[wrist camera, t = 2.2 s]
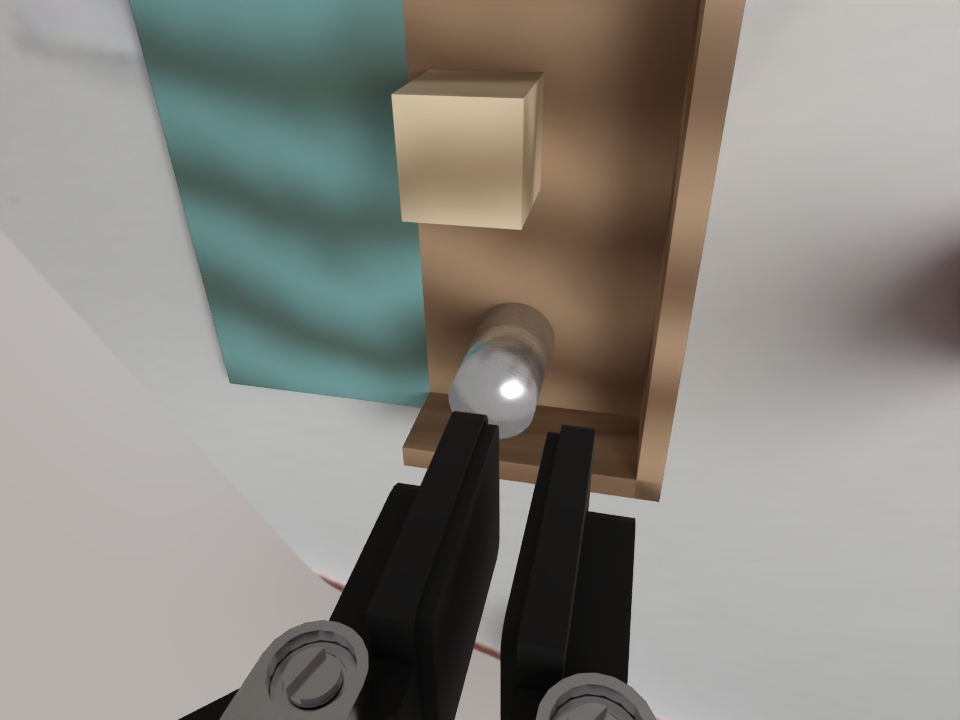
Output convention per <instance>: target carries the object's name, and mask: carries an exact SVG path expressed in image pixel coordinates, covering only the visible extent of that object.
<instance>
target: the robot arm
mask: <svg viewBox="0 0 960 720" xmlns="http://www.w3.org/2000/svg"><path fill="white" fill-rule="evenodd" d="M595 434H596V429H595V428H587V427H579V426H571V425H563V424H562V426H561V431H560V433H555V432H548V433H547V436H546V441H545V445H544V449H543V454H542V458H541V462H540V467H539V471H538V476H537V480H536V484H535V489H534V493H533V497H532V502H531V506H530V510H529V515H528V519H527V523H526V528H525V532H524V536H523V541H522V545H521V549H520V554H519V558H518V562H517V567H516V571H515V575H514V580H513V584H512V588H511V593H510V597H509V601H508V606H507V610H506V615H505V619H504V625H503V631H502V639H501V720H656V718H655V716H654V714H653V713H652V711H651V709H650V707H649V706H648V704H647V702H646V701H645V700H644V699H643V698H642V697H641V696H640V695H639V694H638V693H637V692H636V691H635V690H634V689H633V688H632V687H631V686H629V685H627V681H628V661H629V642H630V622H631V603H632V583H633V564H634V544H635V518H629V517H623V516H616V515H609V514H603V513H596V512H589V511H588V507H589V497H590V486H591V476H592V465H593V455H594V445H595ZM498 549H499V426H498V425H493V424H488V417H487V415H484V414H476V413H468V412H460V411H454V412H452V414H451V416H450V418H449V421H448V423H447V425H446V428H445V430H444V432H443V435H442V437H441V439H440V442H439V444H438V446H437V449H436V451H435V453H434V455H433V458H432V460H431V462H430V465H429V467H428V469H427V472H426V474H425V476H424V479H423V481H422V483H421V486H416V485H409V484H403V483H397V484H396V485H395V486H394V487H393V489H392V491H391V492H390V494H389V496H388V498H387V500H386V502H385V504H384V507H383V509H382V511H381V513H380V515H379V517H378V519H377V521H376V523H375V525H374V527H373V530H372V532H371V534H370V536H369V538H368V540H367V542H366V544H365V546H364V548H363V550H362V553H361V555H360V557H359V559H358V561H357V563H356V565H355V567H354V569H353V571H352V573H351V576H350V578H349V580H348V582H347V584H346V586H345V588H344V590H343V592H342V594H341V596H340V599H339V601H338V603H337V605H336V607H335V609H334V611H333V613H332V615H331V618H330V620H329V621H326V620H320V621H314V622H307V623H303V624H301V625H299V626H296V627H294V628H291V629H289V630H288V631H286V632H285V633H283V634H282V635H281V636H279V637H278V638H276V639H275V640H274V641H273V642H272V643H271V644H270V646H269V647H268V648H267V649H266V650H265V651H264V653H263V654H262V655H261V657H260V658H259V660H258V662H257V663H256V664H255V666H254V667H253V669H252V670H251V672H250V673H249V675H248V677H247V678H246V680H245V681H244V683H243V684H242V686H241V687H240V688H239V689H237V690H235V691H233V692H231V693H230V694H228V695H226V696H224V697H222V698H220V699H218V700H216V701H214V702H212V703H210V704H208V705H206V706H204V707H202V708H200V709H198V710H196V711H194V712H192V713H190V714H188V715H186V716H184V717H183V718H181V719H179V720H454V719H455V715H456V712H457V708H458V704H459V700H460V696H461V693H462V689H463V685H464V681H465V678H466V673H467V670H468V666H469V662H470V659H471V655H472V651H473V647H474V643H475V640H476V636H477V632H478V628H479V624H480V621H481V617H482V613H483V609H484V606H485V602H486V598H487V594H488V590H489V587H490V583H491V579H492V575H493V571H494V568H495V564H496V560H497V555H498Z"/></svg>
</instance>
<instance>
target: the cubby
mask: <svg viewBox="0 0 960 720" xmlns="http://www.w3.org/2000/svg"><path fill="white" fill-rule="evenodd" d="M745 1H746V0H129V2H130V5H131V9H132V13H133V17H134V21H135V24H136V28H137V32H138V36H139V40H140V43H141V47H142V51H143V55H144V59H145V62H146V66H147V70H148V74H149V78H150V81H151V85H152V89H153V93H154V97H155V100H156V104H157V108H158V112H159V116H160V119H161V123H162V127H163V131H164V135H165V138H166V142H167V146H168V150H169V154H170V157H171V161H172V165H173V169H174V173H175V176H176V180H177V184H178V188H179V192H180V195H181V199H182V203H183V207H184V211H185V214H186V218H187V222H188V226H189V230H190V233H191V237H192V241H193V245H194V249H195V252H196V256H197V260H198V264H199V268H200V271H201V275H202V279H203V283H204V287H205V290H206V294H207V298H208V302H209V306H210V309H211V313H212V317H213V321H214V325H215V328H216V332H217V336H218V340H219V344H220V347H221V351H222V355H223V359H224V363H225V366H226V370H227V374H228V378H229V382H230V383H232V384H240V385H248V386H256V387H264V388H272V389H280V390H288V391H296V392H304V393H311V394H319V395H327V396H335V397H343V398H351V399H359V400H367V401H375V402H383V403H391V404H398V405H406V406H414V407H422V409H421V411H420V413H419V415H418V417H417V419H416V421H415V423H414V425H413V427H412V429H411V431H410V433H409V435H408V437H407V439H406V441H405V443H404V445H403V447H402V449H403V459H404V465H407V466H414V467H421V468H428V467H429V465H430V462H431V460H432V458H433V455H434V453H435V451H436V449H437V446H438V444H439V442H440V439H441V437H442V435H443V432H444V430H445V428H446V425H447V423H448V421H449V418H450V416H451V414H452V410H451V408H450V405H449V390H450V387H451V384H452V382H453V380H454V378H455V376H456V374H457V372H458V370H459V368H460V366H461V363H462V361H463V359H464V357H465V355H466V353H467V351H468V349H469V347H470V345H471V343H472V340H473V338H474V336H475V334H476V332H477V330H478V328H479V326H480V324H481V322H482V320H483V318H484V316H485V315H486V314H487V313H488V312H489V311H490V310H491V309H493V308H494V307H496V306H499V305H501V304H506V303H520V304H524V305H528V306H530V307H532V308H534V309H536V310H538V311H539V312H540V313H541V314H543V315H544V316H545V317H546V319H547V320H548V321H549V323H550V325H551V326H552V329H553V332H554V346H553V350H552V354H551V357H550V360H549V364H548V367H547V371H546V374H545V378H544V381H543V385H542V388H541V392H540V395H539V399H538V402H537V406H536V409H535V413H534V416H533V419H532V421H531V423H530V425H529V426H528V427H527V428H526V429H525V430H524V431H523V432H521V433H520V434H518V435H516V436H513V437H509V438H503V439H499V479H504V480H511V481H518V482H525V483H532V484H536V480H537V476H538V471H539V467H540V462H541V458H542V454H543V449H544V445H545V441H546V436H547V433H548V432H555V433H560V431H561V426H562V424H563V425H571V426H579V427H587V428H595V429H596V434H595V445H594V455H593V465H592V476H591V486H590V492H594V493H601V494H608V495H615V496H622V497H629V498H635V499H642V500H649V501H656V502H659V499H660V493H661V487H662V482H663V476H664V470H665V464H666V458H667V453H668V447H669V441H670V435H671V430H672V424H673V418H674V412H675V406H676V401H677V395H678V389H679V383H680V377H681V372H682V366H683V360H684V354H685V348H686V343H687V337H688V331H689V325H690V320H691V314H692V308H693V302H694V296H695V291H696V285H697V279H698V273H699V267H700V262H701V256H702V250H703V244H704V238H705V233H706V227H707V221H708V215H709V209H710V204H711V198H712V192H713V186H714V181H715V175H716V169H717V163H718V157H719V152H720V146H721V140H722V134H723V128H724V123H725V117H726V111H727V105H728V99H729V94H730V88H731V82H732V76H733V71H734V65H735V59H736V53H737V47H738V42H739V36H740V30H741V24H742V18H743V13H744V7H745ZM429 69H432V70H472V71H512V72H544V88H543V120H542V151H541V183H540V191H539V193H538V195H537V197H536V199H535V201H534V204H533V206H532V208H531V210H530V212H529V214H528V217H527V219H526V221H525V223H524V225H523V227H522V230H515V229H501V228H487V227H473V226H459V225H445V224H431V223H417V222H403V221H402V216H401V204H400V192H399V180H398V168H397V156H396V144H395V132H394V120H393V108H392V96H391V94H393V93H394V92H396V91H397V90H399V89H400V88H402V87H403V86H405V85H406V84H408V83H409V82H411V81H412V80H414V79H416V78H417V77H419V76H420V75H422V74H423V73H425V72H426V71H428V70H429Z"/></svg>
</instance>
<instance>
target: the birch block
mask: <svg viewBox="0 0 960 720" xmlns="http://www.w3.org/2000/svg"><path fill="white" fill-rule="evenodd" d="M543 88H544V72H512V71H472V70H432V69H429V70H428V71H426V72H425V73H423V74H422V75H420V76H419V77H417V78H416V79H414V80H412V81H411V82H409V83H408V84H406V85H405V86H403V87H402V88H400V89H399V90H397V91H396V92H394V93H393V94H391V96H392V108H393V120H394V132H395V144H396V156H397V168H398V180H399V192H400V204H401V216H402V221H403V222H417V223H431V224H445V225H459V226H473V227H487V228H501V229H515V230H522V227H523V225H524V223H525V221H526V219H527V217H528V214H529V212H530V210H531V208H532V206H533V204H534V201H535V199H536V197H537V195H538V193H539V191H540V183H541V151H542V120H543Z"/></svg>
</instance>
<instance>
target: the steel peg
mask: <svg viewBox="0 0 960 720" xmlns="http://www.w3.org/2000/svg"><path fill="white" fill-rule="evenodd" d="M553 346H554V332H553V329H552V326H551V325H550V323H549V321H548V320H547V319H546V317H545V316H544V315H543V314H541V313H540V312H539V311H538V310H536V309H534V308H532V307H530V306H528V305H524V304H520V303H506V304H501V305H499V306H496V307H494V308H493V309H491V310H490V311H489V312H488V313H487V314H486V315H485V316H484V318H483V320H482V322H481V324H480V326H479V328H478V330H477V332H476V334H475V336H474V338H473V340H472V343H471V345H470V347H469V349H468V351H467V353H466V355H465V357H464V359H463V361H462V363H461V366H460V368H459V370H458V372H457V374H456V376H455V378H454V380H453V382H452V384H451V387H450V390H449V405H450V408H451V410H452V412H454V411H460V412H468V413H476V414H484V415H487V417H488V424H493V425H498V426H499V439H503V438H509V437H513V436H516V435H518V434H520V433H521V432H523V431H524V430H525V429H526V428H527V427H528V426H529V425H530V423H531V421H532V419H533V416H534V413H535V409H536V406H537V402H538V399H539V395H540V392H541V388H542V385H543V381H544V378H545V374H546V371H547V367H548V364H549V360H550V357H551V354H552V350H553Z"/></svg>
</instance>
